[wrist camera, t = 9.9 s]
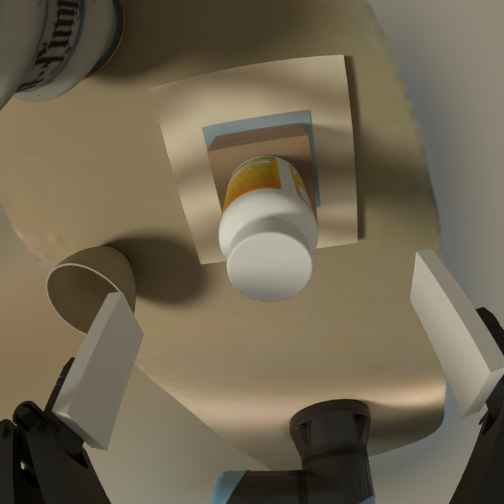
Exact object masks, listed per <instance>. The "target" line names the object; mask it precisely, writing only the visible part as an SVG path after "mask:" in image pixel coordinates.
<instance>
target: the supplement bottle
mask: <svg viewBox="0 0 504 504" xmlns="http://www.w3.org/2000/svg"><path fill="white" fill-rule="evenodd" d="M317 243H318V226H317V221H316V218H315V215H314V212H313V210H312V207H311V204H310V200H309V198H308V195H307V192H306V189H305V187H304V183H303V181H302V179H301V177H300V175H299V173H298V172H297V170H296V169H295V168H294V167H293V166H292V165H291V164H290V163H288V162H287V161H285V160H283V159H281V158H278V157H273V156H259V157H255V158H252V159H249V160H247V161H245V162H244V163H242V164H241V165H240V166H239V167H238V168H237V169H236V170H235V172H234V173H233V175H232V177H231V179H230V182H229V185H228V188H227V193H226V198H225V202H224V207H223V211H222V216H221V220H220V225H219V244H220V248H221V251H222V253H223V255H224V257H225V259H226V260H227V272H228V276H229V279H230V281H231V283H232V284H233V286H234V287H235V288H236V289H237V290H238V291H239V292H240V293H242V294H243V295H245V296H247V297H249V298H251V299H254V300H258V301H264V302H274V301H280V300H284V299H287V298H290V297H292V296H294V295H295V294H297V293H298V292H300V291H301V290H302V289H303V288H304V287H305V286H306V285H307V283H308V281H309V279H310V277H311V275H312V271H313V260H312V257H313V255H314V253H315V250H316V247H317Z"/></svg>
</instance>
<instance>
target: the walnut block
mask: <svg viewBox="0 0 504 504" xmlns="http://www.w3.org/2000/svg"><path fill="white" fill-rule="evenodd" d="M207 154H208V158H209V162H210V166H211V171H212V175H213V179H214V183H215V187H216V191H217V195H218V199H219V203H220V207H221V211H223V207H224V202H225V198H226V193H227V188H228V185H229V182H230V179H231V177H232V175H233V173H234V172H235V170H236V169H237V168H238V167H239V166H240V165H241V164H242V163H244V162H245V161H247V160H249V159H252V158H255V157H259V156H273V157H278V158H281V159H283V160H285V161H287V162H288V163H290V164H291V165H292V166H293V167H294V168H295V169H296V170H297V172H298V173H299V175H300V177H301V179H302V181H303V183H304V187H305V189H306V192H307V195H308V198H309V200H310V204H311V207H312V210H313V212H314V215H315V218H316V221H317V225H318V220H317V209H316V199H315V189H314V180H313V171H312V162H311V154H310V146H309V138H308V134H307V133H306V131H305V130H304V129H303V127H302V126H301V124H300V123H293V124H286V125H279V126H272V127H265V128H259V129H253V130H247V131H241V132H236V133H230V134H225V135H220V136H216V137H215V139H214V140H213V142H212V144H211V145H210V147H209V149H208V151H207Z"/></svg>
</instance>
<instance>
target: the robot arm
mask: <svg viewBox="0 0 504 504" xmlns="http://www.w3.org/2000/svg"><path fill="white" fill-rule="evenodd" d="M410 302H411V304H412V305H413V307H414V309H415V311H416V313H417V315H418V317H419V319H420V321H421V323H422V325H423V327H424V329H425V331H426V333H427V336H428V338H429V340H430V342H431V344H432V346H433V348H434V350H435V353H436V355H437V357H438V359H439V361H440V364H441V366H442V368H443V371H444V373H445V375H446V377H447V380H448V382H449V384H450V387H451V389H452V392H453V394H454V397H455V399H456V402H457V404H458V407H459V409H460V412H461V415H462V417H466V416H468V415H471V414H473V413H476V412H479V411H480V410H481V408H482V407H483V405H484V404H485V403H486V405H487V407H488V411H487V412H486V413H485V415H484V416H483V417H482V419H481V420H480V422H479V425H481V424H482V422H483V424H482V427H481V430H480V433H479V436H478V438H477V441H476V444H475V447H474V449H473V452H472V454H471V457H470V459H469V462H468V464H467V467H466V469H465V471H464V473H463V476H462V478H461V480H460V482H459V484H458V486H457V488H456V491H455V493H454V495H453V497H452V499H451V500H450V502H449V504H504V330H503V329H502V327H501V326H500V324H499V322H498V321H497V319H496V318H495V316H494V315H493V314H492V313H491V312H490V311H488V310H487V309H486V308H484V307H482V308H478V309H474V307H473V306H472V304H471V303H470V301H469V300H468V298H467V297H466V295H465V294H464V293H463V291H462V289H461V288H460V287H459V285H458V284H457V282H456V281H455V279H454V278H453V277H452V275H451V274H450V273H449V271H448V270H447V269H446V267H445V266H444V264H443V263H442V262H441V261H440V259H439V258H438V257H437V255H436V254H435V253H434V251H433V250H432V249H427V250H421V251H416V260H415V268H414V275H413V282H412V289H411V295H410ZM143 335H144V333H143V331H142V329H141V328H140V326H139V324H138V322H137V320H136V318H135V316H134V314H133V312H132V310H131V308H130V306H129V304H128V302H127V300H126V298H125V296H124V294H123V292H115V293H109V294H108V295H107V297H106V299H105V301H104V303H103V305H102V306H101V308H100V310H99V312H98V314H97V316H96V318H95V320H94V322H93V324H92V325H91V327H90V329H89V331H88V333H87V335H86V337H85V339H84V341H83V343H82V345H81V347H80V349H79V351H78V354H77V356H76V358H71V359H70V360H69V361H68V363H67V364H66V365H65V366H64V368H63V370H62V372H61V374H60V378H58V380H57V382H56V385H55V387H54V389H53V391H52V393H51V396H50V398H49V400H48V403H47V405H46V407H45V410H44V412H43V411H42V410H41V409H40V408H39V407H38V406H37V405H36V404H35V403H33V402H32V401H25V402H22V403H21V404H20V405H18V407H17V408H16V409H15V411H14V414H13V422H14V423H15V424H16V425H17V426H16V425H14V423H12V422H11V421H10V420H8V419H4V420H2V421H0V504H111V503H110V501H109V499H108V497H107V495H106V493H105V491H104V489H103V487H102V485H101V483H100V481H99V479H98V477H97V475H96V472H95V470H94V468H93V466H92V464H91V461H90V459H89V457H88V454H87V452H86V450H85V449H84V448H83V447H82V445H83V442H84V441H85V442H86V443H87V444H88V445H90V446H91V447H93V448H98V449H103V450H107V448H108V445H109V441H110V437H111V434H112V431H113V427H114V424H115V420H116V417H117V414H118V411H119V407H120V404H121V400H122V398H123V394H124V391H125V388H126V385H127V382H128V379H129V376H130V373H131V369H132V367H133V364H134V361H135V358H136V355H137V352H138V349H139V346H140V344H141V341H142V338H143ZM370 422H371V418H370V413H369V409H368V407H367V406H366V405H365V404H364V403H361V402H358V401H353V400H335V401H328V402H323V403H319V404H316V405H312V406H310V407H307V408H305V409H303V410H301V411H299V412H298V413H296V414H295V415H294V416H293V417H292V418H291V420H290V434H291V437H292V439H293V441H294V443H295V446H296V448H297V450H298V452H299V455H300V457H301V460H302V470H288V471H250V470H245V471H225V472H223V473H221V474H220V475H219V476H218V478H217V480H216V482H215V484H214V487H213V490H212V494H211V498H210V502H209V504H375V495H374V489H373V483H372V477H371V471H370V465H369V460H368V454H367V441H368V435H369V429H370ZM21 462H22V463H23V464H24V465H25V468H24V470H23V469H22V468H21Z"/></svg>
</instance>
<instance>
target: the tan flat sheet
mask: <svg viewBox="0 0 504 504" xmlns="http://www.w3.org/2000/svg"><path fill="white" fill-rule="evenodd" d="M151 91H152V95H153V99H154V103H155V107H156V111H157V115H158V119H159V123H160V127H161V130H162V134H163V138H164V142H165V145H166V149H167V153H168V156H169V160H170V164H171V167H172V171H173V174H174V178H175V181H176V185H177V188H178V191H179V195H180V198H181V202H182V205H183V208H184V212H185V215H186V218H187V222H188V225H189V228H190V231H191V235H192V238H193V241H194V244H195V247H196V251H197V254H198V257H199V260H200V263H201V264H209V263H216V262H223V261H227V260H226V259H225V257H224V255H223V253H222V251H221V248H220V244H219V225H220V220H221V216H222V211H221V207H220V203H219V199H218V195H217V191H216V187H215V183H214V179H213V175H212V171H211V166H210V162H209V158H208V154H207V151H208V149H209V147H210V145H211V144H212V142H213V140H214V139H215V137H216V136H220V135H225V134H230V133H236V132H241V131H247V130H253V129H259V128H265V127H272V126H279V125H286V124H293V123H300V124H301V126H302V127H303V129H304V130H305V131H306V133H307V134H308V138H309V146H310V154H311V162H312V171H313V180H314V189H315V199H316V209H317V220H318V225H317V226H318V243H317V247H316V248H323V247H330V246H337V245H344V244H351V243H358V227H357V191H356V171H355V155H354V142H353V130H352V119H351V109H350V100H349V92H348V84H347V76H346V69H345V62H344V56H343V55H330V56H316V57H305V58H295V59H286V60H278V61H271V62H264V63H258V64H251V65H246V66H240V67H235V68H229V69H224V70H219V71H215V72H210V73H206V74H201V75H197V76H193V77H189V78H185V79H181V80H177V81H173V82H170V83H166V84H163V85H159V86H156V87H152V88H151Z"/></svg>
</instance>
